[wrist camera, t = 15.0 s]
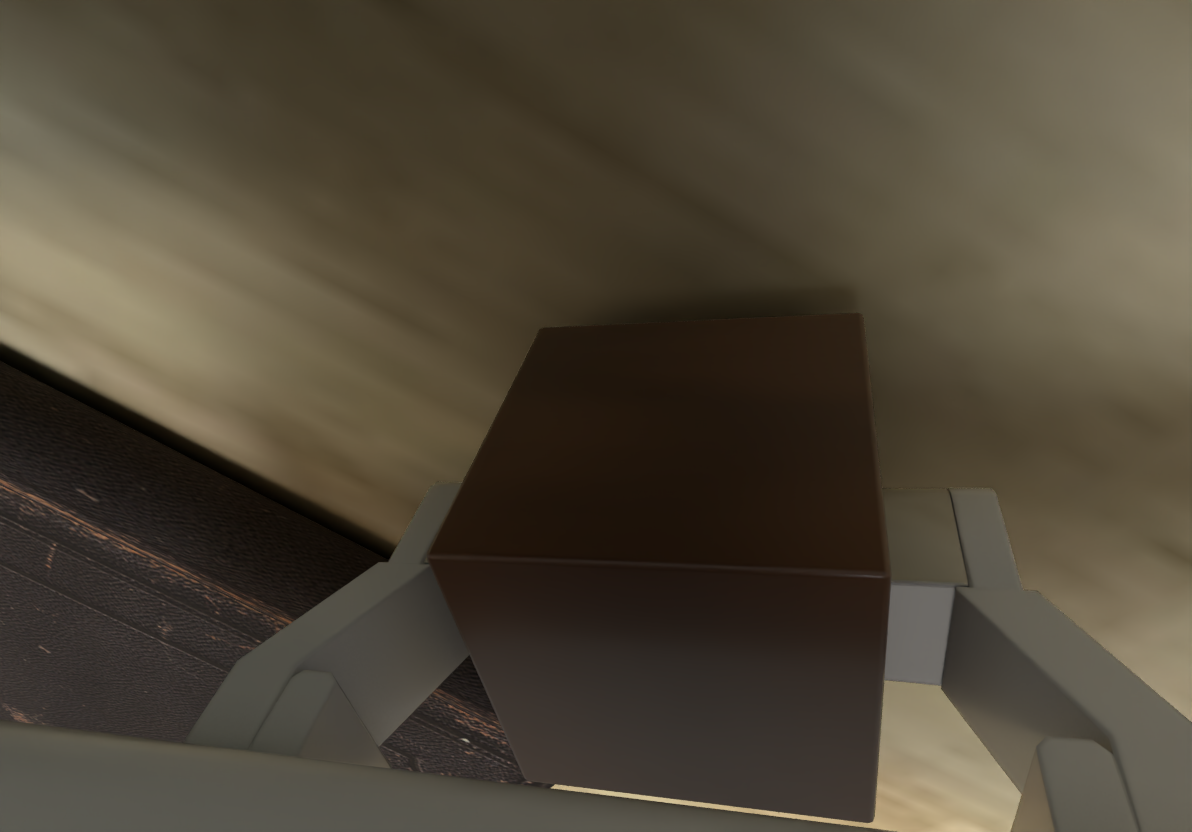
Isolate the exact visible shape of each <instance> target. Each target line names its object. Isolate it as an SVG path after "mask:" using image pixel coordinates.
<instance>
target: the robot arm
mask: <svg viewBox="0 0 1192 832" xmlns="http://www.w3.org/2000/svg"><path fill="white" fill-rule="evenodd" d="M461 484H462V483H459V482H436V483H435V484H434V485H432V486H431V487H430V488H429V489H428V491H427V493H426V494H425V496H424V498H423V500H422V502H421V504H420V505H419V507H418V509H417V511H416V513H415V514H414V516H413V518H412V520H411V522H410V523H409V525H408V527H407V529H406V531H405V532H404V534H403V536H402V538H401V540H400V541H399V543H398V545H397V547H396V549H395V551H394V552H393V554H392V556H391V558H390V560H389V561H388V562H378V563H377V564H375V565H374V566H373V567H371V568H370V569H368V570H367V571H365V572H364V573H363V574H361V575H360V576H358V577H357V578H355V579H354V580H352V581H351V582H350V583H348V584H347V585H345V586H344V587H342V588H341V589H340V590H338V591H337V592H335V593H334V594H332V595H331V596H330V597H328V598H327V599H325V600H324V601H322V602H321V603H319V604H318V605H317V606H315V607H314V608H312V609H311V610H309V611H308V612H307V613H305V614H304V615H302V616H301V617H299V618H298V619H297V620H295V621H294V622H292V623H291V624H289V625H288V626H286V627H285V628H284V629H282V630H281V631H279V632H278V633H276V634H275V635H274V636H272V637H271V638H269V639H268V640H266V641H265V642H263V643H262V644H261V645H259V646H258V647H256V648H255V649H253V650H252V651H251V652H249V653H248V654H246V655H245V656H243V657H242V658H241V659H239V660H238V661H237V662H236V663H235V665H234V666H233V668H232V669H231V671H230V672H229V674H228V675H227V677H226V678H225V680H224V681H223V683H222V684H221V686H220V687H219V689H218V690H217V692H216V694H215V695H214V697H213V698H212V700H211V701H210V703H209V704H208V706H207V707H206V709H205V710H204V712H203V713H202V715H201V716H200V718H199V719H198V721H197V722H196V724H195V725H194V727H193V728H192V730H191V731H190V733H189V734H188V736H187V737H186V739H185V740H184V742H175V741H167V740H159V739H151V738H143V737H135V736H128V735H120V734H112V733H104V732H96V731H88V730H80V729H72V728H64V727H56V726H48V725H40V724H32V723H24V722H16V721H8V720H0V832H896V831H888V830H880V829H872V828H864V827H856V826H848V825H840V824H832V823H824V822H816V821H808V820H800V819H792V818H784V817H776V816H768V815H760V814H752V813H744V812H736V811H728V810H720V809H712V808H704V807H696V806H688V805H680V804H672V803H664V802H655V801H647V800H639V799H631V798H623V797H615V796H607V795H599V794H591V793H583V792H575V791H567V790H559V789H551V788H543V787H535V786H527V785H519V784H511V783H503V782H495V781H487V780H479V779H470V778H462V777H454V776H446V775H439V774H431V773H423V772H415V771H407V770H399V769H393V768H392V767H391V765H390V763H389V762H388V760H387V759H386V757H385V756H384V754H383V752H382V751H381V749H380V748H379V746H380V745H381V744H382V743H383V742H384V741H385V740H386V739H387V738H388V737H389V736H390V735H391V734H392V733H393V732H394V731H395V730H396V729H397V728H398V727H399V726H400V725H401V724H402V723H403V722H404V721H405V720H406V719H407V718H408V717H409V716H410V715H411V714H412V713H413V712H414V710H415V709H416V708H417V707H418V706H419V705H420V704H421V703H422V702H423V701H424V700H425V699H426V698H427V697H428V696H429V695H430V694H431V693H432V692H433V691H434V690H435V689H436V688H437V687H438V686H439V685H440V684H441V683H442V682H443V681H444V680H445V679H446V678H447V677H448V676H449V675H450V674H451V673H452V672H453V671H454V670H455V669H456V668H457V667H458V666H459V665H460V664H461V663H462V662H463V661H464V660H465V659H466V658H467V657H468V656H469V653H468V650H467V648H466V646H465V644H464V641H463V639H462V637H461V635H460V632H459V630H458V628H457V626H456V623H455V621H454V619H453V617H452V615H451V612H450V610H449V608H448V606H447V603H446V601H445V599H444V597H443V594H442V592H441V590H440V588H439V585H438V583H437V581H436V579H435V576H434V574H433V572H432V570H431V567H430V565H429V563H428V561H427V551H428V549H429V547H430V545H431V543H432V541H433V539H434V537H435V535H436V533H437V531H438V530H439V528H440V526H441V524H442V522H443V520H444V518H445V516H446V514H447V512H448V510H449V508H450V506H451V504H452V502H453V500H454V498H455V496H456V494H457V492H458V490H459V488H460V486H461ZM882 489H883V498H884V507H885V517H886V526H887V535H888V544H889V553H890V563H891V572H892V578H891V592H890V606H889V620H888V635H887V649H886V663H885V677H884V680H890V681H900V682H910V683H920V684H930V685H940V686H941V689H942V691H943V692H944V693H945V695H946V696H947V697H948V699H949V700H950V701H951V702H952V704H953V705H954V706H955V708H956V709H957V710H958V712H959V713H960V714H961V716H962V717H963V718H964V719H965V721H966V722H967V723H968V725H969V726H970V727H971V729H972V730H973V731H974V733H975V734H976V735H977V736H978V738H979V739H980V740H981V742H982V743H983V744H984V746H985V747H986V748H987V749H988V751H989V752H990V753H991V755H992V756H993V757H994V759H995V760H996V761H997V763H998V764H999V765H1000V766H1001V768H1002V769H1003V770H1004V772H1005V773H1006V774H1007V776H1008V777H1009V778H1010V780H1011V781H1012V782H1013V783H1014V785H1015V786H1016V787H1017V789H1018V790H1019V791H1020V793H1021V794H1022V796H1021V799H1020V803H1019V806H1018V809H1017V813H1016V816H1015V819H1014V823H1013V826H1012V829H1011V832H1192V722H1191V721H1189V720H1188V719H1187V718H1186V717H1185V716H1184V715H1182V714H1181V713H1180V712H1179V711H1178V710H1177V709H1175V708H1174V707H1173V706H1172V705H1171V704H1170V703H1168V702H1167V701H1166V700H1165V699H1164V698H1162V697H1161V696H1160V695H1159V694H1158V693H1157V692H1155V691H1154V690H1153V689H1152V688H1151V687H1150V686H1148V685H1147V684H1146V683H1145V682H1144V681H1143V680H1141V679H1140V678H1139V677H1138V676H1137V675H1136V674H1134V673H1133V672H1132V671H1131V670H1130V669H1128V668H1127V667H1126V666H1125V665H1124V664H1123V663H1121V662H1120V661H1119V660H1118V659H1117V658H1116V657H1114V656H1113V655H1112V654H1111V653H1110V652H1109V651H1107V650H1106V649H1105V648H1104V647H1103V646H1102V645H1100V644H1099V643H1098V642H1097V641H1096V640H1094V639H1093V638H1092V637H1091V636H1090V635H1089V634H1087V633H1086V632H1085V631H1084V630H1083V629H1082V628H1080V627H1079V626H1078V625H1077V624H1076V623H1075V622H1073V621H1072V620H1071V619H1070V618H1069V617H1068V616H1066V615H1065V614H1064V613H1063V612H1062V611H1060V610H1059V609H1058V608H1057V607H1056V606H1055V605H1053V604H1052V603H1051V602H1050V601H1049V600H1048V599H1046V598H1045V597H1044V596H1043V595H1042V594H1041V593H1039V592H1038V591H1033V590H1023V587H1022V583H1021V580H1020V576H1019V572H1018V569H1017V565H1016V562H1015V558H1014V555H1013V551H1012V547H1011V544H1010V540H1009V537H1008V533H1007V530H1006V526H1005V522H1004V519H1003V515H1002V512H1001V508H1000V505H999V501H998V497H997V494H996V492H995V491H994V490H993V489H992V488H948V489H945V488H882Z"/></svg>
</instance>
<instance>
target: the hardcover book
mask: <svg viewBox="0 0 1192 832" xmlns="http://www.w3.org/2000/svg"><path fill="white" fill-rule="evenodd" d="M388 561H389V560H387V559H386V558H384V557H382V556H380V555H378V554H376V553H374V552H372V551H370V550H368V549H366V548H364V547H362V546H360V545H358V544H356V543H354V542H352V541H350V540H348V539H347V538H345V537H343V536H341V535H339V534H337V533H335V532H333V531H331V530H329V529H327V528H325V527H323V526H321V525H319V524H317V523H315V522H313V521H311V520H309V519H307V518H306V517H304V516H302V515H300V514H298V513H296V512H294V511H292V510H290V509H288V508H286V507H284V506H282V505H280V504H278V503H276V502H274V501H272V500H270V499H268V498H267V497H265V496H263V495H261V494H259V493H257V492H255V491H253V490H251V489H249V488H247V487H245V486H243V485H241V484H239V483H237V482H235V481H233V480H231V479H229V478H228V477H226V476H224V475H222V474H220V473H218V472H216V471H214V470H212V469H210V468H208V467H206V466H204V465H202V464H200V463H198V462H196V461H194V460H192V459H190V458H189V457H187V456H185V455H183V454H181V453H179V452H177V451H175V450H173V449H171V448H169V447H167V446H165V445H163V444H161V443H159V442H157V441H155V440H153V439H151V438H149V437H148V436H146V435H144V434H142V433H140V432H138V431H136V430H134V429H132V428H130V427H128V426H126V425H124V424H122V423H120V422H118V421H116V420H114V419H112V418H110V417H109V416H107V415H105V414H103V413H101V412H99V411H97V410H95V409H93V408H91V407H89V406H87V405H85V404H83V403H81V402H79V401H77V400H75V399H73V398H71V397H70V396H68V395H66V394H64V393H62V392H60V391H58V390H56V389H54V388H52V387H50V386H48V385H46V384H44V383H42V382H40V381H38V380H36V379H34V378H32V377H31V376H29V375H27V374H25V373H23V372H21V371H19V370H17V369H15V368H13V367H11V366H9V365H7V364H5V363H3V362H1V361H0V720H8V721H16V722H24V723H32V724H40V725H48V726H56V727H64V728H72V729H80V730H88V731H96V732H104V733H112V734H120V735H128V736H135V737H143V738H151V739H159V740H167V741H175V742H184V740H185V739H186V737H187V736H188V734H189V733H190V731H191V730H192V728H193V727H194V725H195V724H196V722H197V721H198V719H199V718H200V716H201V715H202V713H203V712H204V710H205V709H206V707H207V706H208V704H209V703H210V701H211V700H212V698H213V697H214V695H215V694H216V692H217V690H218V689H219V687H220V686H221V684H222V683H223V681H224V680H225V678H226V677H227V675H228V674H229V672H230V671H231V669H232V668H233V666H234V665H235V663H236V662H237V661H238V660H239V659H241V658H242V657H243V656H245V655H246V654H248V653H249V652H251V651H252V650H253V649H255V648H256V647H258V646H259V645H261V644H262V643H263V642H265V641H266V640H268V639H269V638H271V637H272V636H274V635H275V634H276V633H278V632H279V631H281V630H282V629H284V628H285V627H286V626H288V625H289V624H291V623H292V622H294V621H295V620H297V619H298V618H299V617H301V616H302V615H304V614H305V613H307V612H308V611H309V610H311V609H312V608H314V607H315V606H317V605H318V604H319V603H321V602H322V601H324V600H325V599H327V598H328V597H330V596H331V595H332V594H334V593H335V592H337V591H338V590H340V589H341V588H342V587H344V586H345V585H347V584H348V583H350V582H351V581H352V580H354V579H355V578H357V577H358V576H360V575H361V574H363V573H364V572H365V571H367V570H368V569H370V568H371V567H373V566H374V565H375V564H377V563H378V562H388ZM379 748H380V749H381V751H382V752H383V754H384V756H385V757H386V759H387V760H388V762H389V763H390V765H391V767H392V768H393V769H399V770H407V771H415V772H423V773H431V774H439V775H446V776H454V777H462V778H470V779H479V780H487V781H495V782H503V783H511V784H519V785H527V786H535V787H543V788H551V787H552V786H554V785H555V784H550V783H542V782H534V781H528V780H526V779H525V778H524V776H523V774H522V772H521V769H520V767H519V765H518V763H517V760H516V758H515V756H514V754H513V751H512V749H511V747H510V745H509V742H508V740H507V738H506V736H505V733H504V731H503V729H502V727H501V724H500V722H499V720H498V718H497V715H496V713H495V711H494V709H493V707H492V704H491V702H490V700H489V698H488V695H487V693H486V691H485V689H484V686H483V684H482V682H481V680H480V677H479V675H478V673H477V671H476V668H475V666H474V664H473V662H472V659H471V657H470V655H469V656H468V657H467V658H466V659H465V660H464V661H463V662H462V663H461V664H460V665H459V666H458V667H457V668H456V669H455V670H454V671H453V672H452V673H451V674H450V675H449V676H448V677H447V678H446V679H445V680H444V681H443V682H442V683H441V684H440V685H439V686H438V687H437V688H436V689H435V690H434V691H433V692H432V693H431V694H430V695H429V696H428V697H427V698H426V699H425V700H424V701H423V702H422V703H421V704H420V705H419V706H418V707H417V708H416V709H415V710H414V712H413V713H412V714H411V715H410V716H409V717H408V718H407V719H406V720H405V721H404V722H403V723H402V724H401V725H400V726H399V727H398V728H397V729H396V730H395V731H394V732H393V733H392V734H391V735H390V736H389V737H388V738H387V739H386V740H385V741H384V742H383V743H382V744H381V745H380V746H379Z"/></svg>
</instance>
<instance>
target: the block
mask: <svg viewBox="0 0 1192 832" xmlns="http://www.w3.org/2000/svg"><path fill="white" fill-rule="evenodd" d="M427 561H428V563H429V565H430V567H431V570H432V572H433V574H434V576H435V579H436V581H437V583H438V585H439V588H440V590H441V592H442V594H443V597H444V599H445V601H446V603H447V606H448V608H449V610H450V612H451V615H452V617H453V619H454V621H455V623H456V626H457V628H458V630H459V632H460V635H461V637H462V639H463V641H464V644H465V646H466V648H467V650H468V653H469V655H470V657H471V659H472V662H473V664H474V666H475V668H476V671H477V673H478V675H479V677H480V680H481V682H482V684H483V686H484V689H485V691H486V693H487V695H488V698H489V700H490V702H491V704H492V707H493V709H494V711H495V713H496V715H497V718H498V720H499V722H500V724H501V727H502V729H503V731H504V733H505V736H506V738H507V740H508V742H509V745H510V747H511V749H512V751H513V754H514V756H515V758H516V760H517V763H518V765H519V767H520V769H521V772H522V774H523V776H524V778H525V779H526V780H528V781H534V782H542V783H550V784H558V785H566V786H574V787H582V788H590V789H598V790H606V791H614V792H622V793H630V794H638V795H646V796H654V797H663V798H671V799H679V800H687V801H695V802H703V803H711V804H719V805H727V806H735V807H743V808H751V809H759V810H767V811H775V812H783V813H791V814H799V815H807V816H815V817H823V818H831V819H839V820H847V821H855V822H863V823H871V822H873V820H874V817H875V804H876V790H877V776H878V762H879V748H880V733H881V719H882V705H883V691H884V677H885V663H886V649H887V635H888V620H889V606H890V592H891V578H892V572H891V563H890V553H889V544H888V535H887V526H886V517H885V507H884V498H883V489H882V480H881V470H880V461H879V452H878V443H877V434H876V424H875V415H874V406H873V397H872V387H871V378H870V369H869V360H868V351H867V341H866V332H865V323H864V317H863V315H862V314H860V313H845V314H823V315H801V316H780V317H758V318H737V319H715V320H693V321H672V322H650V323H629V324H607V325H586V326H564V327H544V328H541V329H540V330H539V331H538V333H537V335H536V337H535V339H534V341H533V343H532V345H531V347H530V349H529V351H528V353H527V355H526V357H525V359H524V361H523V363H522V365H521V367H520V369H519V371H518V373H517V375H516V377H515V379H514V381H513V383H512V385H511V387H510V389H509V391H508V393H507V395H506V397H505V399H504V401H503V403H502V405H501V407H500V409H499V411H498V413H497V415H496V417H495V419H494V421H493V423H492V424H491V426H490V428H489V430H488V432H487V434H486V436H485V438H484V440H483V442H482V444H481V446H480V448H479V450H478V452H477V454H476V456H475V458H474V460H473V462H472V464H471V466H470V468H469V470H468V472H467V474H466V476H465V478H464V480H463V482H462V484H461V486H460V488H459V490H458V492H457V494H456V496H455V498H454V500H453V502H452V504H451V506H450V508H449V510H448V512H447V514H446V516H445V518H444V520H443V522H442V524H441V526H440V528H439V530H438V531H437V533H436V535H435V537H434V539H433V541H432V543H431V545H430V547H429V549H428V551H427Z"/></svg>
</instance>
